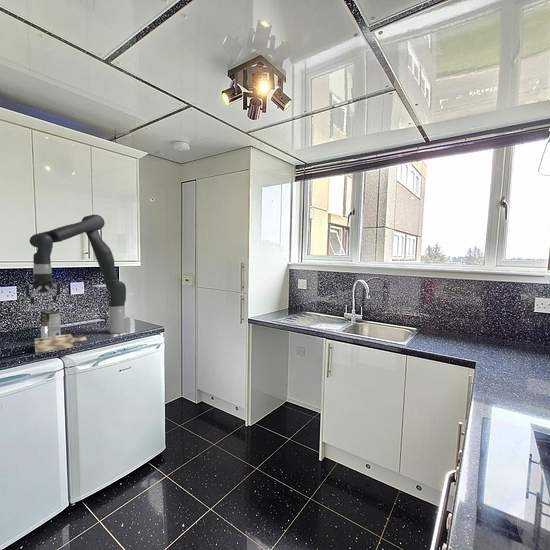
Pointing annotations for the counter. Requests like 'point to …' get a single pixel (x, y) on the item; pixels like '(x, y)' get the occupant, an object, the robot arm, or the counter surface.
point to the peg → (44, 333)
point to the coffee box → (51, 322)
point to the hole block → (53, 343)
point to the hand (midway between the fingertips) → (43, 303)
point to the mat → (79, 339)
